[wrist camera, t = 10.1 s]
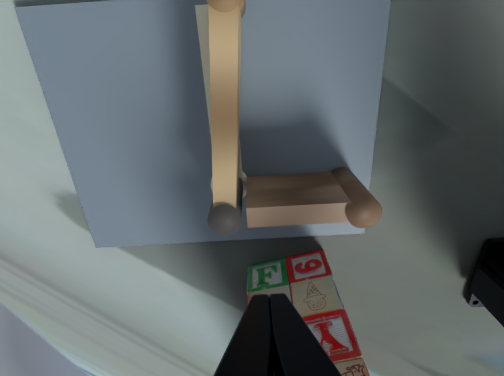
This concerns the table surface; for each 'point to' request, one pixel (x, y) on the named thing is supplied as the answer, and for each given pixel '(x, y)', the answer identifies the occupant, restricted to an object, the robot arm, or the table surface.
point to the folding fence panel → (225, 114)
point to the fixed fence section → (310, 200)
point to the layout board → (203, 105)
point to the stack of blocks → (312, 304)
